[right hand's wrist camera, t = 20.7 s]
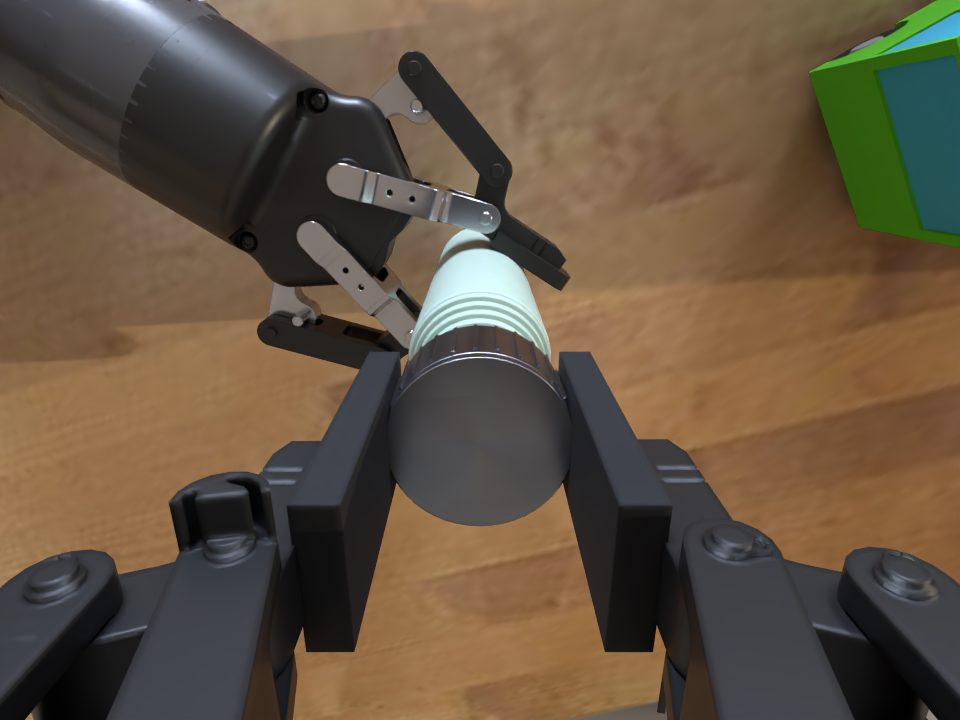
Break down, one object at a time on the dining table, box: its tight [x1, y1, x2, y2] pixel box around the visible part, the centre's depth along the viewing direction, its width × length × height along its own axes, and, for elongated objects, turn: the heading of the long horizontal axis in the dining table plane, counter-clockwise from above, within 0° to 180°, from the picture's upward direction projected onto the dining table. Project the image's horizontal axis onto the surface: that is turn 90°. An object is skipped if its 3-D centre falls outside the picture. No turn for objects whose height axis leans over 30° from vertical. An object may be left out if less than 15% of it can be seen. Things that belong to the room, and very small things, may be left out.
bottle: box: [409, 229, 551, 363], centre depth 22 cm, size 4×4×19 cm
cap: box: [387, 324, 572, 526], centre depth 13 cm, size 4×4×2 cm
